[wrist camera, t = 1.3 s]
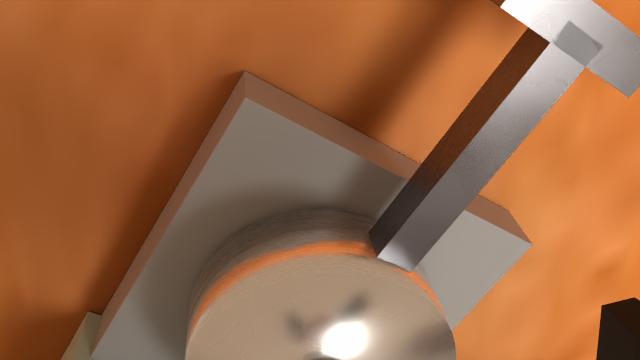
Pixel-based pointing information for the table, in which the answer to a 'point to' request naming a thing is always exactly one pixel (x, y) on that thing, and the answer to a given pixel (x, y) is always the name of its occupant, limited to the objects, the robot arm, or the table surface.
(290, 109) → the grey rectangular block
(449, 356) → the grey t-handle
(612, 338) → the robot arm
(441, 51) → the table surface
